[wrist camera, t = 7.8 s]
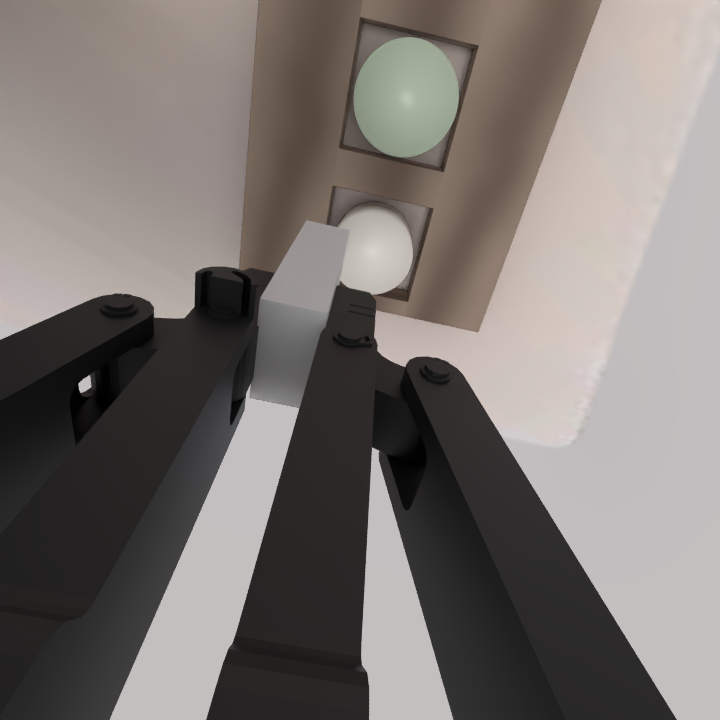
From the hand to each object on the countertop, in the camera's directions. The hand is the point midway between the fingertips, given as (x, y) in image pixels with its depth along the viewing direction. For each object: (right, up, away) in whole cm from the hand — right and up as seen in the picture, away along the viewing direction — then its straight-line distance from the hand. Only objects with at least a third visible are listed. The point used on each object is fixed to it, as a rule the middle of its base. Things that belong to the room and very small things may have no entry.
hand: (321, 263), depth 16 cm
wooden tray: (+4, +11, +10) cm, 15 cm away
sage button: (+4, +10, +8) cm, 13 cm away
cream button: (+2, +4, +13) cm, 14 cm away
